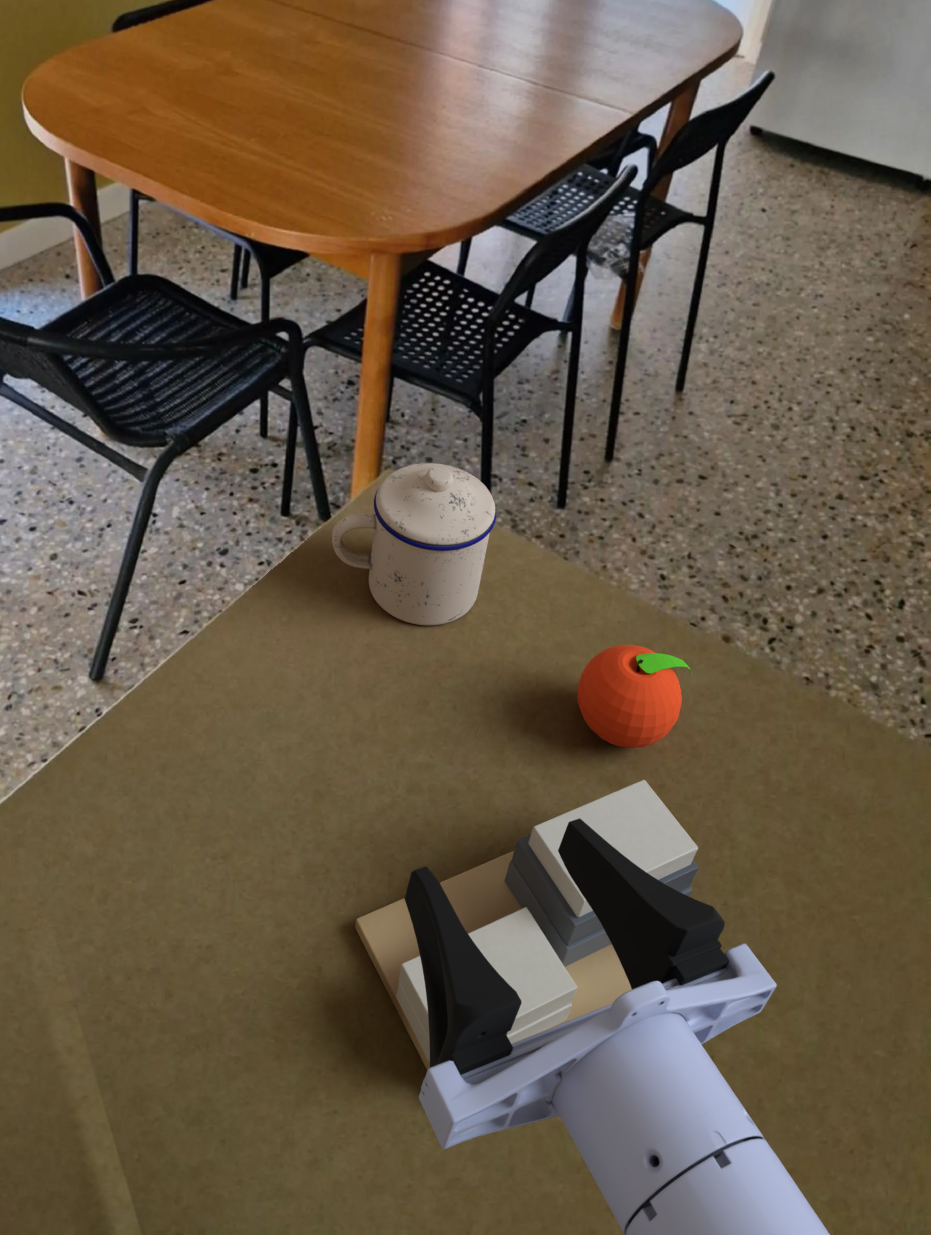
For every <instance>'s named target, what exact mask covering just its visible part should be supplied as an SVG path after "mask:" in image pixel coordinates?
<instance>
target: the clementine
mask: <svg viewBox="0 0 931 1235" xmlns="http://www.w3.org/2000/svg"><path fill="white" fill-rule="evenodd" d="M673 668H686V669H687V670H688V671H689V675H690V677H692V675H693V674H692V669H691V667H689V665H688V664H687V663H686V662H685V661H684V660H683V659H681V658H678V657H676V656H674V655H670V654H667V653H660V652H659V653H657V652H655V651H653V650H652V649H650V648H648V647H644V646H641V645H636V644H619V645H614V646H611V647H608V648H605V649H602V651H600V652H599V653H597V654H595V655H594V657H592V658H590V660H589V661H588V663H587V664H586V665H585V667H584V668H583V670H582V673H581V674H580V678H579V681H578V685H577V703H578V706H579V710H580V713H581V715H582V718H583V720H584V722H585V723H586V724H587V726H588V728H589V729H590V730H591V731H592V732H594V733H595V735H596V736H598V737H599V738H601V740H603V741H606V742H607V743H609V744H611V745H614V746H616V747H619V748H620V747H621V748H627V749H628V748H629V749H635V748H646V747H648V746H650V745H653V744H655V743H657V742H659V741H660V740H662V739H663V738H664V737H666V736H667V735H668V734H669V733H670V732H671V730H672V729H673V727H674V725H675V724H676V722H677V721H678V719H679V718H680V713H681V707H682V702H683V696H682V689H681V685H680V684H681V683H680V681H679V678H678V676H677V674H676V672H675V670H674V669H673Z"/></svg>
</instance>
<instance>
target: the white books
mask: <svg viewBox="0 0 931 1235" xmlns="http://www.w3.org/2000/svg"><path fill="white" fill-rule="evenodd" d="M468 935H469V936H470V937H471V939H472V940H473V942H474V943H475V945H476V946H477V947H478V949H479V950H480V951H481V953H482V954H483V955H484V957H485V958H486V959H487V960H488V962H489V963H490V964H491V965H492V966H493V968H494V969H495V970H496V971H497V972H498V973H499V975H500V976H501V977H502V978H503V979H504V980H505V981H506V982H507V983H508V984H509V985H510V986H511V987H512V988H513V989H514V990H515V991H516V992H517V994H518V996H519V997H520V999H521V1001H522V1003H521V1006H520V1008H519V1011H518V1013H517V1016H516V1018H515V1021H514V1023H513V1026H512V1029H511V1031H508V1033H507V1037H508V1039H509V1041H510V1043H511V1044H512V1043H515V1042H517V1041H520V1040H522V1039H525V1038H527V1037H530V1036H532V1035H535V1034H537V1033H540V1032H542V1031H545V1030H547V1029H549V1028H551V1027H553V1026H555V1025H557V1024H559V1023H561V1022H563V1021H565V1020H566V1019H567V1016H568V1014H569V1011H570V1009H571V1006H572V1004H571V1002H572V999H573V997H574V994H575V992H576V990H577V986H576V984H575V983H574V981H573V980H572V978H571V976H570V975H569V973H568V972H567V970H566V969H565V967H564V965H563V964H562V962H561V961H560V959H559V957H558V956H557V954H556V953H555V951H554V950H553V948H552V946H551V945H550V943H549V942H548V940H547V939H546V937H545V935H544V934H543V932H542V931H541V929H540V928H539V926H538V924H537V923H536V921H535V920H534V918H533V917H532V915H531V913H530V912H529V910H528V909H527V907H525V908H523V909H521V910H518V911H516V912H514V913H512V914H510V915H507V916H505V917H503V918H501V919H499V920H496V921H494V922H492V923H490V924H488V925H486V926H483V927H481V928H479V929H477V930H475V931H472V932H470V933H468ZM396 998H397V1000H398V1002H399V1004H400V1006H401V1008H402V1010H403V1012H404V1014H405V1016H406V1018H407V1020H408V1021H409V1023H410V1025H411V1027H412V1029H413V1031H414V1033H415V1035H416V1037H417V1039H418V1041H419V1043H420V1045H421V1047H422V1049H423V1051H424V1053H425V1055H426V1057H427V1059H428V1061H429V1063H430V1041H429V1020H428V1007H427V997H426V988H425V981H424V975H423V968H422V963H421V958H420V956H418V957H416V958H413V959H411V960H409V961H407V962H405V963H403V964H402V965H401V970H400V975H399V985H398V990H397V995H396Z"/></svg>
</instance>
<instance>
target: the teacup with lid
mask: <svg viewBox="0 0 931 1235" xmlns="http://www.w3.org/2000/svg"><path fill="white" fill-rule="evenodd" d="M496 507H497V506H496V504H495V500H494V498H493V496H492V494H491V491H490V490H489V489H488V487H487V486H486V485H485V484H484V483H483V482H482V481H481V480H479V479H478V478H477V477H475V476H474V475H472V474H471V473H469V472H468V471H465V470H463V469H461V468H458V467H455V466H453V465H448V464H443V463H433V462H424V463H422V462H421V463H415V464H410V465H407V466H404V467H400V468H399V469H396V470H395V471H393V472H391V473H390V474H389V475H388V476H386V477H385V478H384V479H383V480H382V482H381V483H380V484H379V486H378V488H377V489H376V492H375V494H374V498H373V511H374V513H353V514H349V515H347V516H345V517H343V518H341V519H340V520H339V521H337V522H336V524H335V525H334V527H333V528H332V532H331V543H332V548H333V551H334V553H335V554H336V556H337V557H338V558H339V559H340V561H342V562H343V563H344V564H346V565H348V566H350V567H353V568H357V569H364V570H365V569H366V570H367V569H368V570H369V572H368V573H369V574H368V587H369V590H370V593H371V595H372V597H373V599H374V600H375V602H376V603H377V604H378V605H379V607H381V609H383V610H384V611H385V612H386V613H388V614H389V615H391V616H392V617H395V618H396V619H398V620H401V621H403V622H406V623H410V624H413V625H420V626H439V625H440V626H441V625H444V624H448V623H451V622H454V621H456V620H458V619H460V618H462V617H464V616H465V615H466V614H467V613H468V612H469V611H470V610H471V609H472V608H473V606H474V604H475V603H476V600H477V598H478V595H479V590H480V584H481V579H482V574H483V568H484V565H485V559H486V554H487V549H488V545H489V544H488V543H489V540H490V534H491V532H492V530H493V528H494V526H495V523H496V520H497V508H496ZM358 529H370V530H371V529H373V535H372V544H371V554H367V553H359V552H355V551H353V550H351V549H349V548H348V547H347V546H346V545H345V544H344V542H343V541H342V540H343V539H342V538H343V537H344V535H346V534H347V533H349V532H350V531H352V530H358Z"/></svg>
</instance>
